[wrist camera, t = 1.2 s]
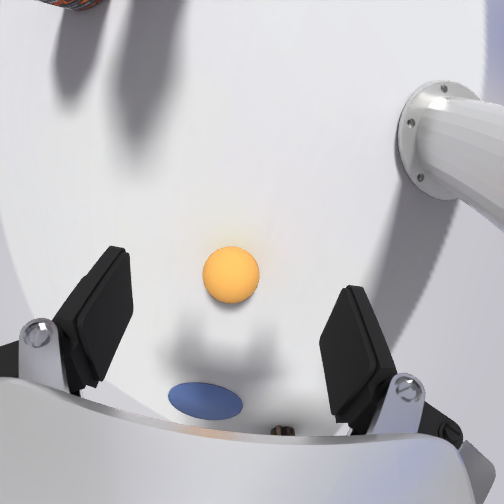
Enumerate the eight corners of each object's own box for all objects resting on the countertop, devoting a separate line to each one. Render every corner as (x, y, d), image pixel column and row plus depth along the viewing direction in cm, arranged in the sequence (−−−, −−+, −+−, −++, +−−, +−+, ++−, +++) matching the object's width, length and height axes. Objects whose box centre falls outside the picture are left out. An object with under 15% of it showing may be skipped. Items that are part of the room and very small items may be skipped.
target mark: (248, 389, 43) (248, 390, 43) (237, 422, 50) (237, 423, 49) (166, 376, 42) (166, 377, 42) (170, 412, 49) (169, 413, 49)
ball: (264, 241, 30) (265, 272, 25) (254, 284, 33) (253, 319, 28) (209, 232, 29) (200, 262, 25) (205, 276, 32) (196, 310, 27)
